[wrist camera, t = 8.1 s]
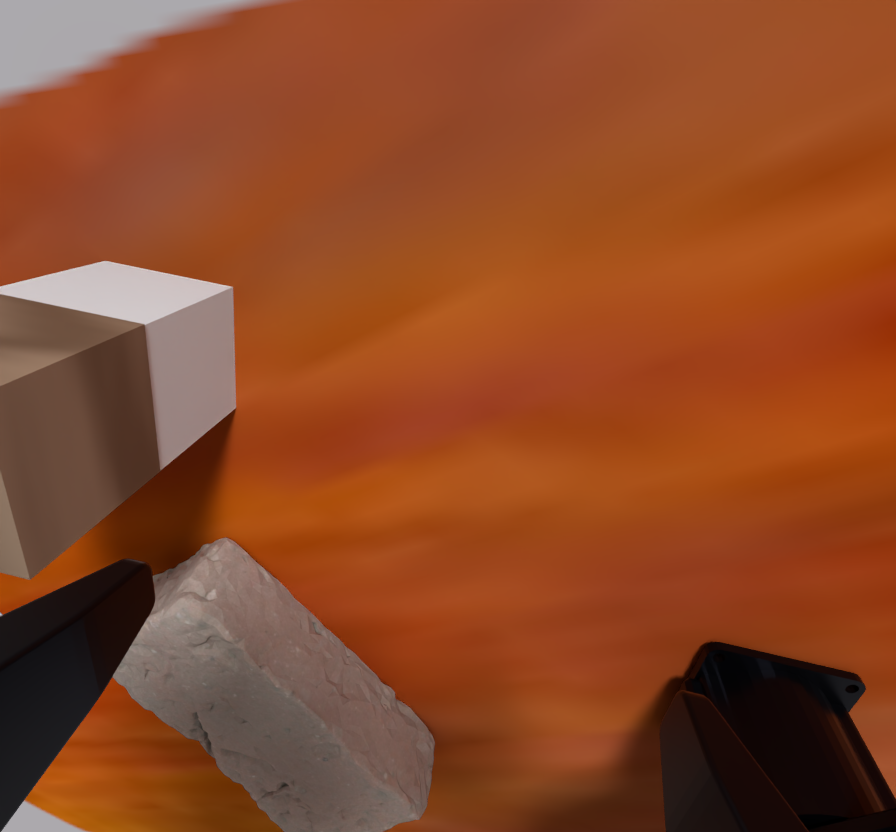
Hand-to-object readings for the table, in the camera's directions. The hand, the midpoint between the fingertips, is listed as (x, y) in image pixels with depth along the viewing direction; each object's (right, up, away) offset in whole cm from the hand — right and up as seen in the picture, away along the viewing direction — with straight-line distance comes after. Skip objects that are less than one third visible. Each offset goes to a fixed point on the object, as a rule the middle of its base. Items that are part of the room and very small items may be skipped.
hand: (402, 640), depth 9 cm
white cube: (-10, +7, +12) cm, 17 cm away
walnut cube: (-11, +5, +8) cm, 14 cm away
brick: (-8, -9, +20) cm, 23 cm away
